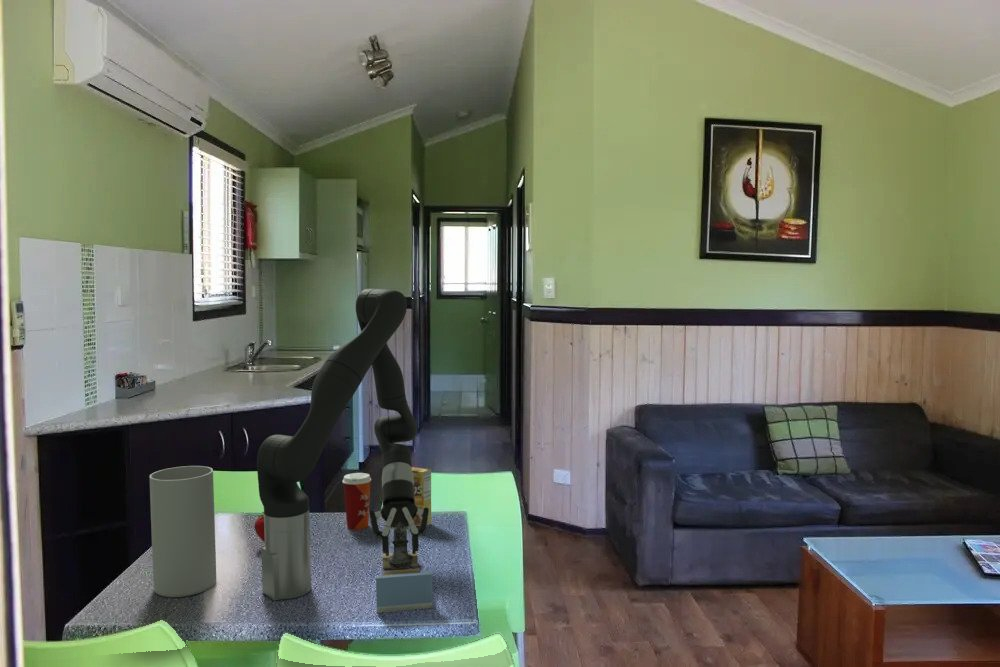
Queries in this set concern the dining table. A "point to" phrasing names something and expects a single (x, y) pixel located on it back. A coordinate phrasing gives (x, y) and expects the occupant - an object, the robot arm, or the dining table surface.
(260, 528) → the strawberry
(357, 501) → the paper cup
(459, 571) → the dining table surface
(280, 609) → the dining table surface
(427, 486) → the candy box
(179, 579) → the cylinder vase
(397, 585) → the bezel holder
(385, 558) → the oak gap blocks
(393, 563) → the dark statuette
